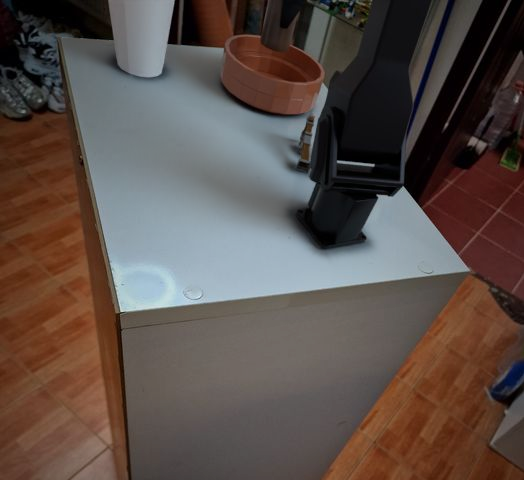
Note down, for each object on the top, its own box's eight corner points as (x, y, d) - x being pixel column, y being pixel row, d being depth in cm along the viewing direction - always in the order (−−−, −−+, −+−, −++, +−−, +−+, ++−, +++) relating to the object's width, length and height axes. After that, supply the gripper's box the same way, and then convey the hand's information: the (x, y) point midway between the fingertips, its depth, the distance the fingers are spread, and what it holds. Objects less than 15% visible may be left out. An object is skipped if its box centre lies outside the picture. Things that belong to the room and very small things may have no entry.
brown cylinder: (294, 53, 63) (314, -24, 56) (268, 51, 61) (286, -29, 54) (280, 39, 65) (298, -37, 58) (254, 37, 63) (270, -42, 56)
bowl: (330, 119, 68) (343, 85, 64) (246, 120, 61) (254, 82, 57) (285, 71, 75) (293, 38, 71) (204, 67, 68) (208, 30, 64)
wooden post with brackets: (309, 134, 61) (319, 110, 57) (302, 183, 59) (313, 163, 55) (296, 130, 61) (306, 107, 56) (290, 180, 59) (299, 159, 55)
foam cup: (179, 64, 66) (187, -45, 56) (165, 89, 61) (171, -28, 50) (116, 45, 65) (114, -71, 55) (96, 68, 59) (89, -55, 49)
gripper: (239, -177, 52) (219, -16, 64) (259, -152, 41) (230, 35, 54) (325, -145, 55) (290, 3, 67) (363, -115, 44) (313, 54, 57)
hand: (280, 21), depth 61 cm, fingers closed on brown cylinder, 4 cm apart
